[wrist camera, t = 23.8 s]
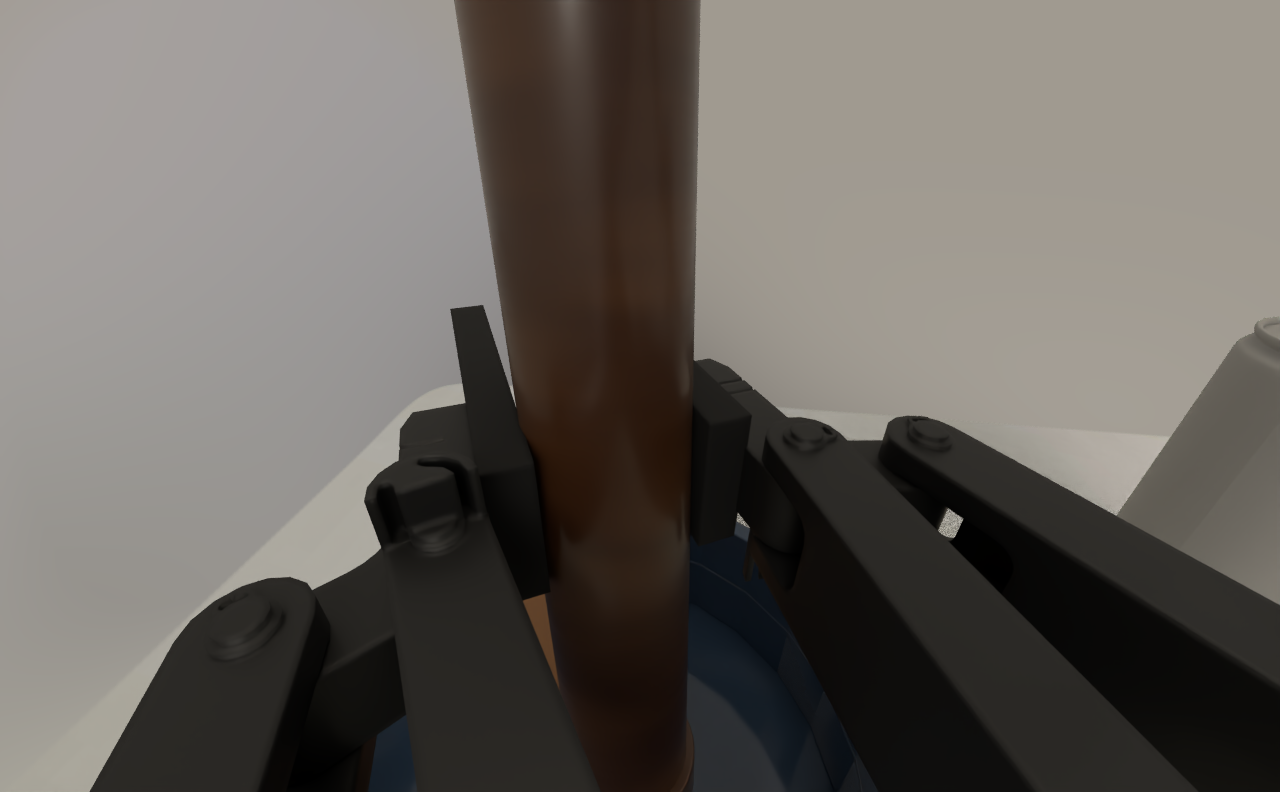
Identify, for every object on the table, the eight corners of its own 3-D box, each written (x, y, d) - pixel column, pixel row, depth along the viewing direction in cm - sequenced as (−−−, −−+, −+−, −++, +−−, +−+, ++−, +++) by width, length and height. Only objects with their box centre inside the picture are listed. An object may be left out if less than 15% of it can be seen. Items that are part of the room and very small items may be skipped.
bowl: (702, 545, 23) (712, 451, 20) (1017, 1043, 11) (1150, 980, 8) (336, 656, 18) (282, 554, 16) (175, 1749, 6) (-203, 2186, 3)
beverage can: (1169, 573, 22) (1380, 320, 16) (1269, 682, 18) (1607, 397, 12) (1050, 558, 23) (1207, 310, 16) (1119, 660, 18) (1365, 379, 12)
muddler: (662, 691, 14) (652, -11, 7) (717, 814, 12) (783, -116, 5) (553, 735, 13) (422, -31, 6) (585, 881, 11) (418, -179, 4)
